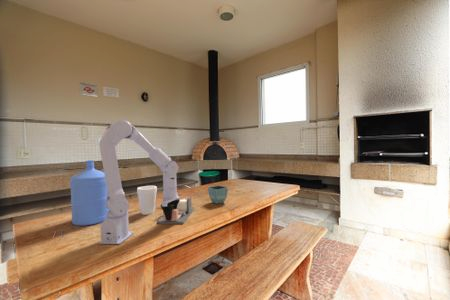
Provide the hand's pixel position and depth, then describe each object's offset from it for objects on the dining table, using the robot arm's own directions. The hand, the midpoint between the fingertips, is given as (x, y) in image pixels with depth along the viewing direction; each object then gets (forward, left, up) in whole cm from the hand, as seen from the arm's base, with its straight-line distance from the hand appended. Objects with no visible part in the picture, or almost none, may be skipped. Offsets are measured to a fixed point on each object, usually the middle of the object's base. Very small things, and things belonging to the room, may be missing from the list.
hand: (170, 217), depth 92 cm
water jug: (+2, +39, -2) cm, 39 cm away
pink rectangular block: (+4, 0, -1) cm, 4 cm away
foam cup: (+13, +17, -2) cm, 21 cm away
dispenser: (+9, 0, -2) cm, 9 cm away
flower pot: (+32, -17, -2) cm, 36 cm away
